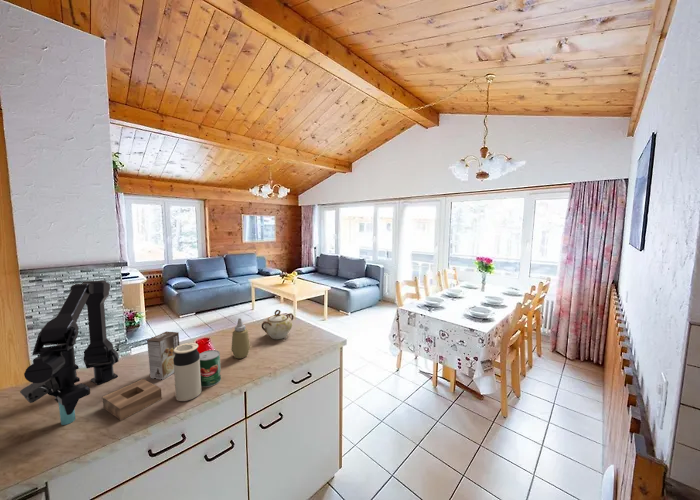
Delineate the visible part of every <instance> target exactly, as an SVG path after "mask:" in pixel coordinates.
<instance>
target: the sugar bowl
mask: <svg viewBox="0 0 700 500" xmlns="http://www.w3.org/2000/svg"><path fill="white" fill-rule="evenodd" d="M281 312H282V311H281V310H279V309H276V310H275V311H274V315H271V316H269V317H267V319H266V320H264V321H263V322H262V323H261V330H263V331H264V332H265V333H266V334H267V336H270V338H272V339H273V340H281V339H284V338H286V337H287V336H288V334H289V333H290V331H291V330H292V327H293V320H294V318H295V317H294V314H293V313H291V312H290V313H287V314H281Z"/></svg>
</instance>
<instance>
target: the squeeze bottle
mask: <svg viewBox="0 0 700 500" xmlns="http://www.w3.org/2000/svg"><path fill="white" fill-rule="evenodd" d="M231 338H232V339H231V347H230V348H231V349H230V350H231V352H232V355H233V356H234V358H235V359H244V358H246V357H248V355H249V352H250V350H251V349H250V348H251V344H250V338H249V330H248V329H247V328H246V325H245V324H243V320H242V318H241V317H238V319H237V324H236V325H234V330H233V331H232V337H231Z"/></svg>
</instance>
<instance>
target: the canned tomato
mask: <svg viewBox="0 0 700 500" xmlns="http://www.w3.org/2000/svg"><path fill="white" fill-rule="evenodd" d="M220 353H221V352H220V351H219V350H216V349H212V350H210V349H209V350H205V351H203V352H201V353H200V352H199V356H200V375H201V388H211V387H213V386H216V385H217V384H219V383H220V382H221V380H222V374H221V371H222V370H221V356H220V355H221V354H220Z"/></svg>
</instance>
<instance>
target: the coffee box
mask: <svg viewBox="0 0 700 500" xmlns="http://www.w3.org/2000/svg"><path fill="white" fill-rule="evenodd" d="M146 342H147V344H146V345H147V352H148V364H149V366H148V367H149V376H150V379H154V378H156V379H155V380H161V379H162V381H163V380H165V379H166V378H168V377H170V376H171V375H174V361H173V358H174V356H175V352H174V349H175V348H176V347H177V346H179V345H180V336H179V332H177V331H164V332H162V333H160V334H158V335H156V336H153V337H151V338H149V339H147V340H146Z"/></svg>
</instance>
